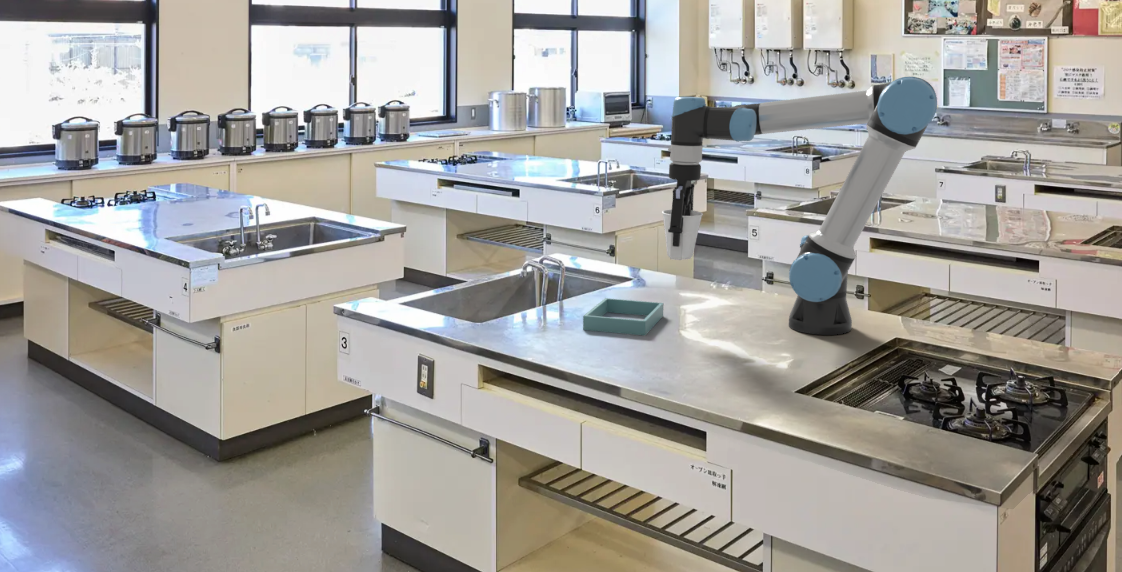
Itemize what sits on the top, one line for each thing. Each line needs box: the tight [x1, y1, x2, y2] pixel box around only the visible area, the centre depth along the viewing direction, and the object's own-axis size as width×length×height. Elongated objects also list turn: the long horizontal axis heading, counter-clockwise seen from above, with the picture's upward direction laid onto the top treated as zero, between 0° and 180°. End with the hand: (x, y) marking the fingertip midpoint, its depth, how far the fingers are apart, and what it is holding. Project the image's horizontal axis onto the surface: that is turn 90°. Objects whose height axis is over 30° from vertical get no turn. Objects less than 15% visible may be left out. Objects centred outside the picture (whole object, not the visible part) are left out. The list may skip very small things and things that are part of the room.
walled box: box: [582, 297, 665, 336], centre depth 250 cm, size 16×20×4 cm
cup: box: [661, 209, 704, 261], centre depth 241 cm, size 10×10×11 cm
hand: (679, 255), depth 242 cm, fingers closed on cup, 8 cm apart
